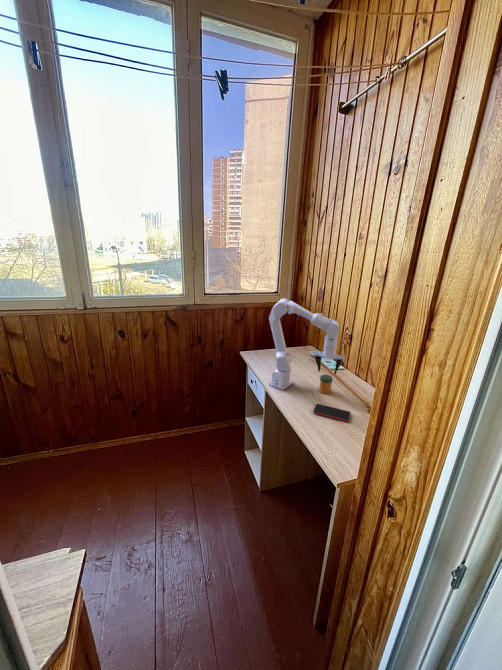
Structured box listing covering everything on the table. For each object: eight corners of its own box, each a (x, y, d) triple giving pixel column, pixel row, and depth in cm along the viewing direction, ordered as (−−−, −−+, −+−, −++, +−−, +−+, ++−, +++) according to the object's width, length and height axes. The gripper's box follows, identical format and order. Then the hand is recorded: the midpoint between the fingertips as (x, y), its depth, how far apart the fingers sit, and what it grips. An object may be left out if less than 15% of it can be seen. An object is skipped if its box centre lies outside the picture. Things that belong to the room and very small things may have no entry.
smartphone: (348, 421, 122) (312, 411, 127) (348, 422, 122) (312, 413, 127) (350, 411, 128) (316, 403, 134) (350, 413, 128) (316, 404, 134)
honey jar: (327, 395, 142) (329, 382, 140) (317, 391, 146) (318, 378, 143) (332, 390, 147) (334, 377, 144) (322, 386, 150) (323, 374, 147)
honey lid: (329, 384, 140) (329, 381, 140) (317, 380, 144) (318, 377, 143) (334, 379, 145) (334, 377, 144) (323, 375, 148) (323, 373, 148)
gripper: (313, 347, 137) (310, 373, 141) (345, 351, 132) (342, 378, 137) (315, 342, 143) (313, 367, 148) (346, 346, 139) (342, 372, 143)
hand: (327, 372), depth 143 cm, fingers open, 7 cm apart
